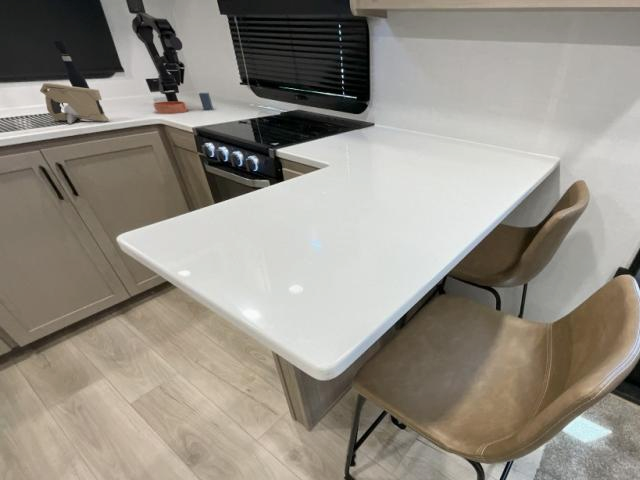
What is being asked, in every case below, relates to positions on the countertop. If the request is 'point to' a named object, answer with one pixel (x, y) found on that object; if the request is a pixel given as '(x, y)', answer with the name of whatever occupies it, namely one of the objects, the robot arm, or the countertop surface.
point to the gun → (73, 101)
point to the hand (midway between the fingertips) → (180, 84)
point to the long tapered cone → (70, 114)
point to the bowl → (170, 107)
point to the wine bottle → (71, 67)
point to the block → (206, 101)
